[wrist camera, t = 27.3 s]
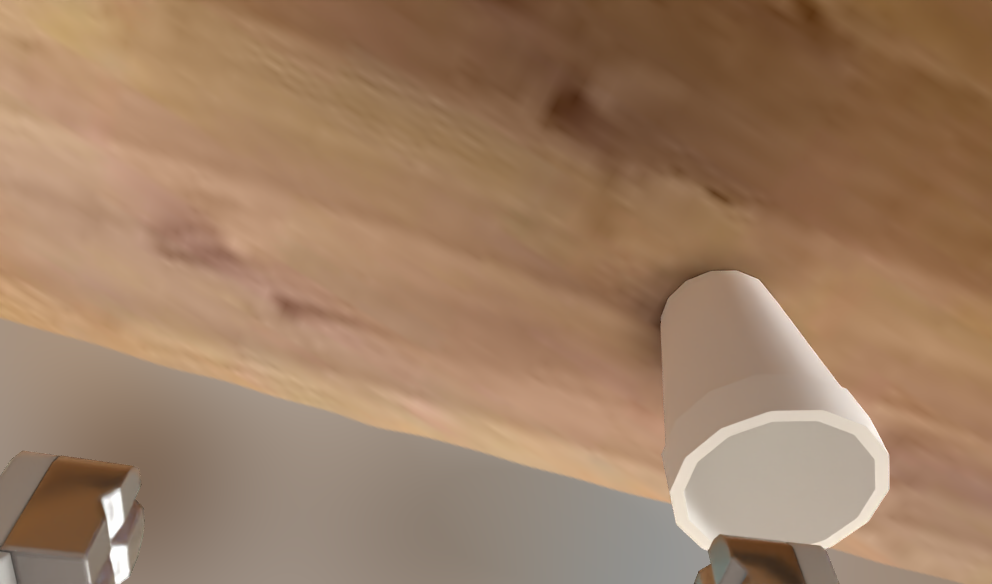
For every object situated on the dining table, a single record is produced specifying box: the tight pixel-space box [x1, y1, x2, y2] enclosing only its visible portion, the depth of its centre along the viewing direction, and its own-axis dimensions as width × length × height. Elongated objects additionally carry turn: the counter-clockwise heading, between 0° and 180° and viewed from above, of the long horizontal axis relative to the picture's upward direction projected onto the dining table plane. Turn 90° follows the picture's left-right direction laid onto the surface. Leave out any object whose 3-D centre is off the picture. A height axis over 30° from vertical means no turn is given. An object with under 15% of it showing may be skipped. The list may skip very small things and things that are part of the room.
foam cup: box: [660, 270, 889, 550], centre depth 43 cm, size 10×9×13 cm
